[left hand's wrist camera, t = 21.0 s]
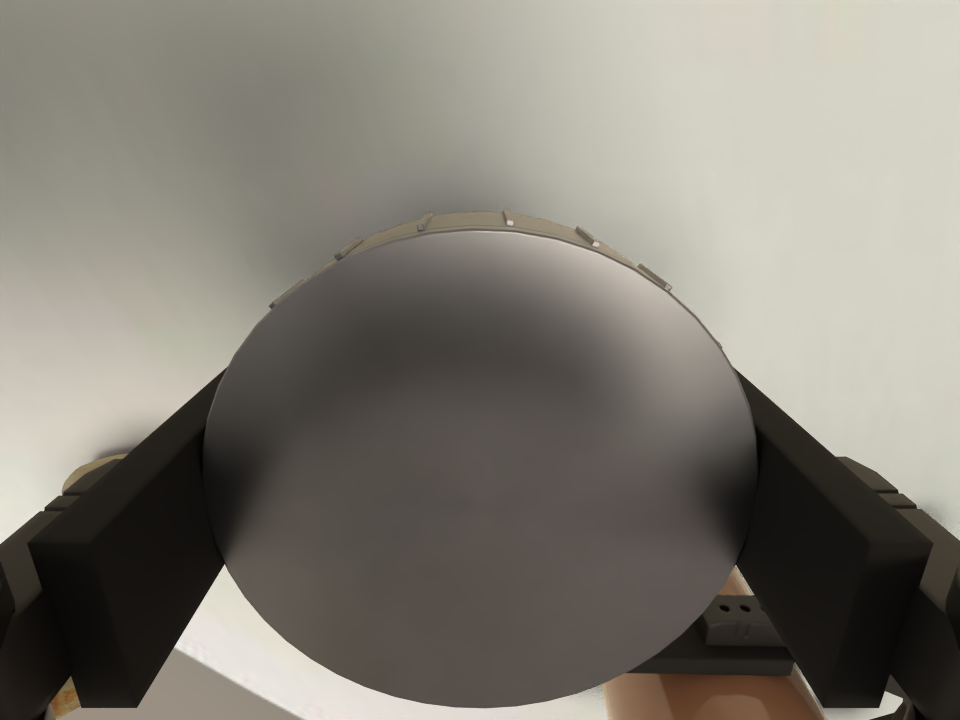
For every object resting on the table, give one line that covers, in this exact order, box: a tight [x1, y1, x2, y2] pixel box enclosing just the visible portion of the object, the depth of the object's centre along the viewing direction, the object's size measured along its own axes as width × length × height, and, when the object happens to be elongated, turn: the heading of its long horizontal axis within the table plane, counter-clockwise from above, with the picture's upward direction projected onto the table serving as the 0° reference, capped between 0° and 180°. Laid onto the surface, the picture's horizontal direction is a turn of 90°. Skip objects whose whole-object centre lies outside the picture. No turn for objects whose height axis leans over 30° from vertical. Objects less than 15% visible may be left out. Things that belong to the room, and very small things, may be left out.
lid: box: [202, 208, 759, 708], centre depth 11 cm, size 10×10×2 cm
